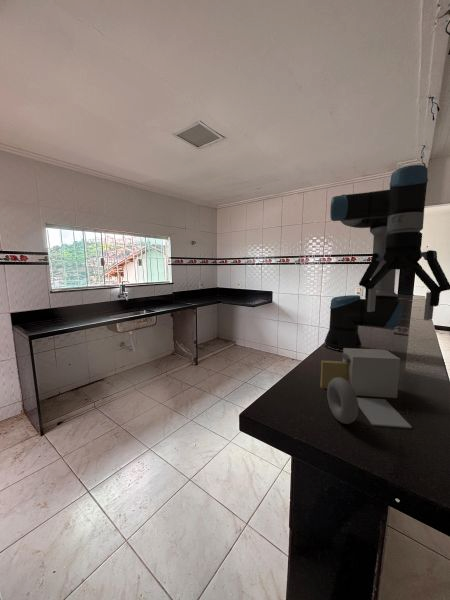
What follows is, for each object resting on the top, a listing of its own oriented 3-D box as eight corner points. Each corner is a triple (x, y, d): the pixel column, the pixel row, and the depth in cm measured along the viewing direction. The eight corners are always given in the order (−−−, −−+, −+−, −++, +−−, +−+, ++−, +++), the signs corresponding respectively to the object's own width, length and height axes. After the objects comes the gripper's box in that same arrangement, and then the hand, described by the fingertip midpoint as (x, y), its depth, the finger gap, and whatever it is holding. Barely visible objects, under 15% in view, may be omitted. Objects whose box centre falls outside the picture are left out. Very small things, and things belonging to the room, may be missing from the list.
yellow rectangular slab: (320, 386, 76) (321, 360, 75) (359, 388, 75) (360, 362, 74) (321, 388, 75) (322, 362, 74) (361, 390, 73) (363, 364, 72)
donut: (323, 408, 64) (325, 370, 62) (336, 408, 64) (338, 370, 63) (344, 434, 54) (347, 389, 52) (360, 433, 54) (363, 389, 53)
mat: (353, 398, 68) (353, 397, 68) (384, 400, 67) (385, 399, 67) (372, 425, 57) (372, 423, 57) (411, 428, 56) (411, 426, 56)
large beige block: (338, 382, 78) (340, 347, 77) (382, 384, 77) (385, 349, 75) (347, 394, 71) (349, 356, 69) (397, 398, 69) (400, 359, 68)
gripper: (348, 237, 73) (344, 309, 75) (463, 223, 52) (452, 325, 54) (363, 238, 77) (359, 307, 79) (475, 227, 56) (464, 321, 58)
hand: (397, 315), depth 67 cm, fingers open, 13 cm apart
